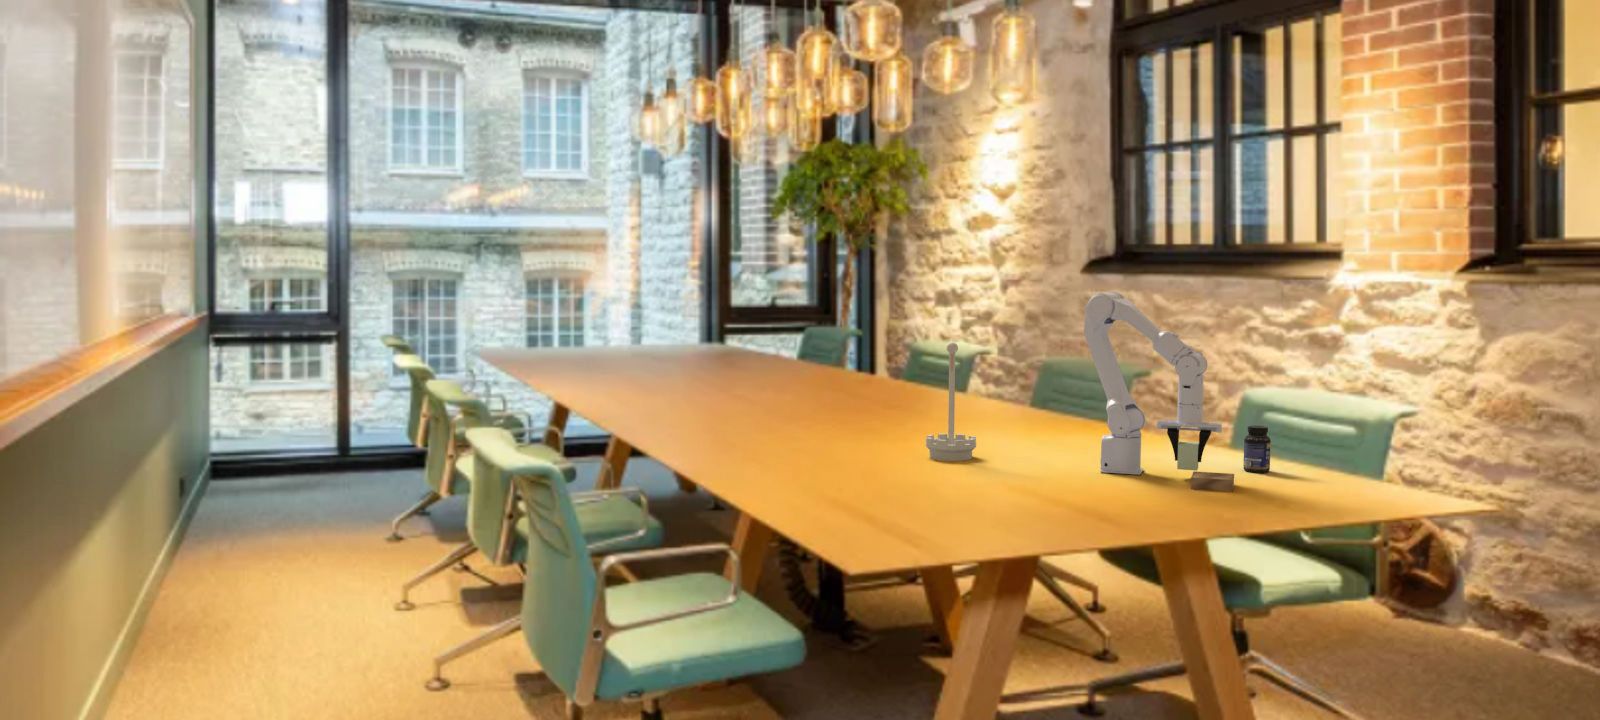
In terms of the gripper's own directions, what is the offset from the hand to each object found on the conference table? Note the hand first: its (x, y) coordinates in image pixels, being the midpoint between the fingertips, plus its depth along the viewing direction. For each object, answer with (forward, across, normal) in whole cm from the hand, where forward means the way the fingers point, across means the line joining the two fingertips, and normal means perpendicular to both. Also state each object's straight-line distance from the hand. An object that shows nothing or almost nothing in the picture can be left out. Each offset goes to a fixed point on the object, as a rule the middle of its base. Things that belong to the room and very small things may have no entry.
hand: (1188, 460), depth 308 cm
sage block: (+2, 0, 0) cm, 2 cm away
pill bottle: (+4, +15, +17) cm, 23 cm away
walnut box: (+5, +6, -9) cm, 12 cm away
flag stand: (+5, -60, +10) cm, 61 cm away
